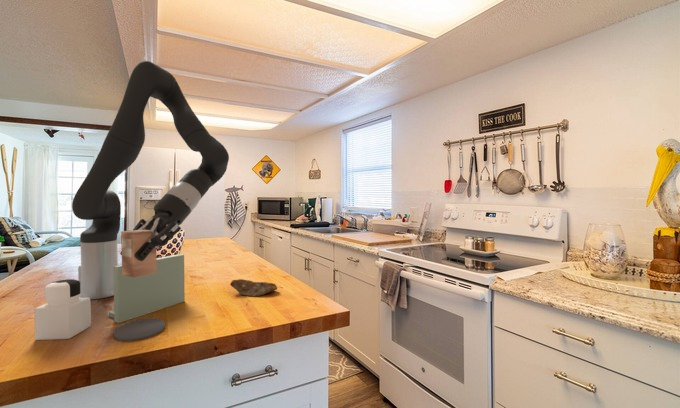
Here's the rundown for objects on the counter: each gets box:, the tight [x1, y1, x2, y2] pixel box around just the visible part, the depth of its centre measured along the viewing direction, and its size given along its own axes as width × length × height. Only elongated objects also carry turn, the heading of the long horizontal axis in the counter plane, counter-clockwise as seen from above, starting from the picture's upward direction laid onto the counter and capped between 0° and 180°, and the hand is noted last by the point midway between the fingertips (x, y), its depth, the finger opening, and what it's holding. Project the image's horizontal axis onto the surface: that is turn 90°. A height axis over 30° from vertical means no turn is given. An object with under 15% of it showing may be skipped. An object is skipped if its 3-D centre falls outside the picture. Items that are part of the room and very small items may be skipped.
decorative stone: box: [229, 278, 278, 298], centre depth 104 cm, size 10×4×15 cm
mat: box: [113, 317, 166, 342], centre depth 74 cm, size 10×10×1 cm
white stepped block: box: [33, 278, 92, 341], centre depth 73 cm, size 7×7×12 cm
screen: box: [107, 253, 186, 324], centre depth 88 cm, size 18×7×14 cm, turn 152°
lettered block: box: [120, 229, 158, 278], centre depth 73 cm, size 5×5×10 cm
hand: (130, 257), depth 72 cm, fingers closed on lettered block, 5 cm apart
